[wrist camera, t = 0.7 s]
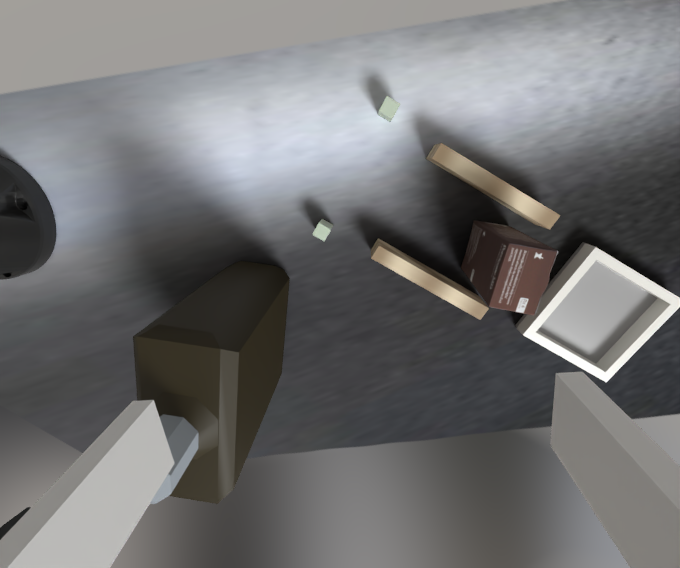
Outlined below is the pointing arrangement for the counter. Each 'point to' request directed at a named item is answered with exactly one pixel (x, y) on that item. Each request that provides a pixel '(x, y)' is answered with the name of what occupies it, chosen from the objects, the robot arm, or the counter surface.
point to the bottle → (214, 375)
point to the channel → (489, 187)
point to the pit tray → (598, 312)
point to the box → (507, 267)
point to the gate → (387, 113)
